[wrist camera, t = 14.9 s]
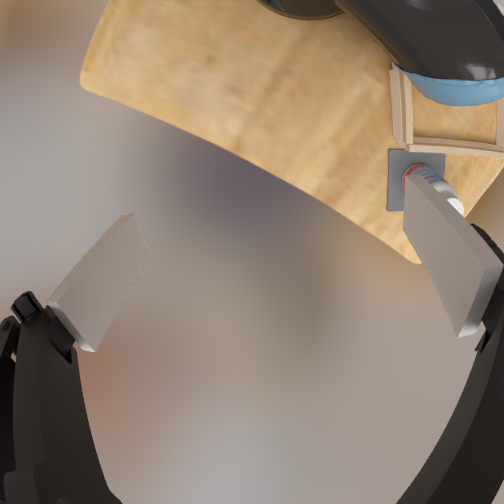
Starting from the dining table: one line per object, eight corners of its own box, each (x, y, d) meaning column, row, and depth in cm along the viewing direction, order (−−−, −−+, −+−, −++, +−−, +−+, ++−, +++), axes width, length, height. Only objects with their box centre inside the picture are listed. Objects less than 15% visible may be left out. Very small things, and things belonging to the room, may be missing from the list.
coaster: (388, 149, 35) (389, 149, 35) (443, 150, 34) (445, 151, 33) (386, 209, 41) (387, 211, 40) (438, 207, 39) (439, 209, 39)
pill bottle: (413, 155, 35) (449, 182, 25) (439, 176, 35) (475, 208, 26) (393, 186, 38) (421, 222, 29) (419, 205, 39) (449, 243, 30)
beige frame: (387, 62, 28) (400, 60, 24) (500, 83, 24) (519, 87, 20) (393, 143, 35) (405, 152, 31) (499, 152, 31) (516, 161, 27)
